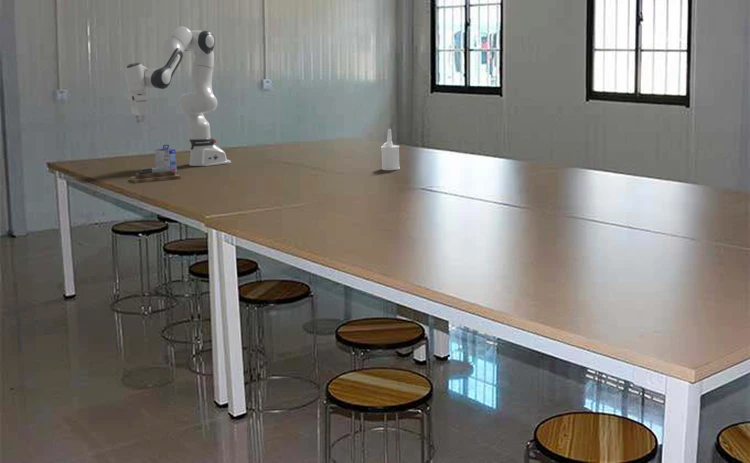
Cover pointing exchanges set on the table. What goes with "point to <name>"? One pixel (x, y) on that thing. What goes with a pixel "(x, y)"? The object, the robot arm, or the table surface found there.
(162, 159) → the ink cartridge box
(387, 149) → the white glue bottle
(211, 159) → the robot arm
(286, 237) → the table surface
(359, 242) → the table surface
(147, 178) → the cradle
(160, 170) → the two-tone gray stick
